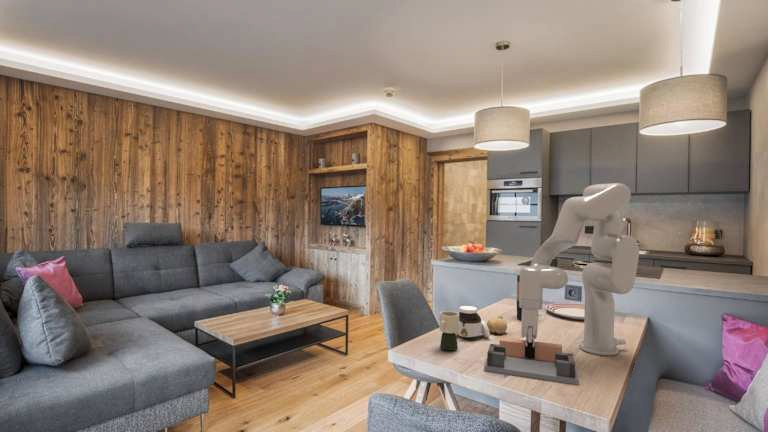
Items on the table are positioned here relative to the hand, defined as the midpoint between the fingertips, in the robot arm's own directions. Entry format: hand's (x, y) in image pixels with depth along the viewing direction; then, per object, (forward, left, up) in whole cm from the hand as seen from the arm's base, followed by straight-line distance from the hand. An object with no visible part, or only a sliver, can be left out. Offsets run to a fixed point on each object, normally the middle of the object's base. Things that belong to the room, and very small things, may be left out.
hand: (529, 355), depth 136 cm
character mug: (+25, -11, -1) cm, 28 cm away
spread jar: (+11, -23, -1) cm, 25 cm away
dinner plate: (-52, -48, -1) cm, 70 cm away
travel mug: (-23, -44, -1) cm, 49 cm away
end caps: (+7, +11, +1) cm, 13 cm away
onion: (-1, -27, -1) cm, 27 cm away
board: (+6, +11, 0) cm, 13 cm away
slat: (0, 0, 0) cm, 0 cm away
